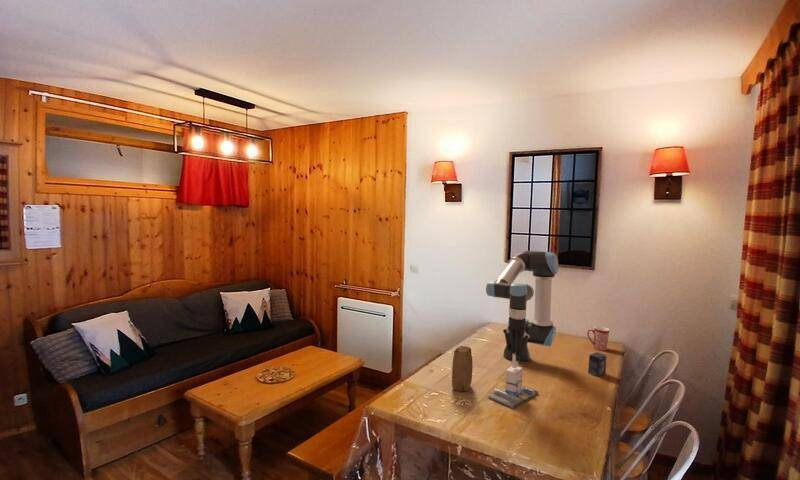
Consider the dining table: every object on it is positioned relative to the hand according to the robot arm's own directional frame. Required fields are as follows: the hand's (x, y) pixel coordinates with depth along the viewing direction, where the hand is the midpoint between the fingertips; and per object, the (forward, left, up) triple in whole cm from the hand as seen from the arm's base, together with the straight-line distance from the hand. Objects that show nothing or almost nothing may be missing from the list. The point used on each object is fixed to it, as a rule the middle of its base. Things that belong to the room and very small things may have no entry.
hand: (514, 367), depth 181 cm
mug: (-1, +102, -14) cm, 103 cm away
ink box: (0, 0, -13) cm, 13 cm away
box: (+15, +59, -14) cm, 63 cm away
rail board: (0, 0, -14) cm, 14 cm away
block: (-21, -12, -14) cm, 28 cm away
